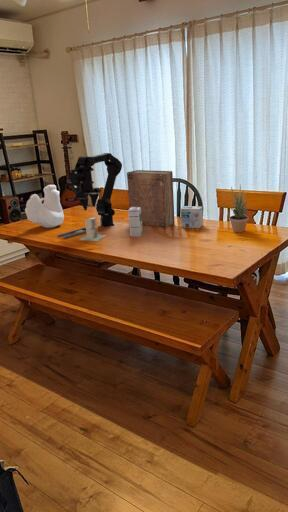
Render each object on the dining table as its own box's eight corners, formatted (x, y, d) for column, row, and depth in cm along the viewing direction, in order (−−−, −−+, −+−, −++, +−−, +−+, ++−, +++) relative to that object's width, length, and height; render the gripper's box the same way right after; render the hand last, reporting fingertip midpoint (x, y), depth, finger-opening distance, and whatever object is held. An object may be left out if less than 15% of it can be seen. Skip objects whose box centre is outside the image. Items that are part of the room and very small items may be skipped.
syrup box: (140, 236, 213) (139, 209, 209) (129, 236, 215) (127, 209, 210) (143, 233, 219) (141, 206, 214) (132, 233, 220) (130, 207, 215)
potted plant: (227, 232, 210) (227, 184, 202) (232, 227, 217) (232, 181, 210) (246, 234, 205) (247, 184, 197) (251, 229, 213) (252, 181, 205)
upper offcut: (81, 231, 230) (80, 230, 229) (84, 232, 228) (84, 230, 227) (75, 233, 226) (74, 231, 226) (78, 234, 224) (78, 232, 224)
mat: (88, 234, 223) (88, 234, 223) (106, 235, 219) (106, 235, 219) (78, 240, 213) (78, 239, 213) (97, 241, 209) (96, 240, 209)
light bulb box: (180, 227, 225) (180, 208, 222) (184, 224, 231) (183, 205, 228) (199, 228, 221) (199, 208, 218) (202, 225, 227) (202, 206, 224)
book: (175, 224, 233) (172, 171, 223) (165, 228, 226) (162, 173, 216) (140, 220, 248) (137, 170, 238) (130, 223, 241) (126, 172, 232)
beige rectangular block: (93, 235, 220) (91, 217, 217) (98, 235, 219) (96, 217, 215) (87, 239, 214) (84, 220, 210) (92, 239, 212) (90, 220, 209)
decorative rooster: (58, 221, 259) (52, 182, 251) (70, 225, 247) (65, 183, 239) (20, 229, 244) (13, 188, 236) (32, 234, 232) (25, 190, 225)
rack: (85, 230, 233) (84, 227, 233) (92, 231, 228) (91, 229, 228) (57, 237, 222) (57, 234, 221) (64, 239, 217) (64, 236, 216)
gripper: (82, 177, 232) (85, 204, 237) (64, 182, 216) (68, 211, 221) (99, 177, 228) (102, 205, 233) (83, 182, 212) (86, 212, 217)
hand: (89, 208), depth 226 cm, fingers open, 9 cm apart
